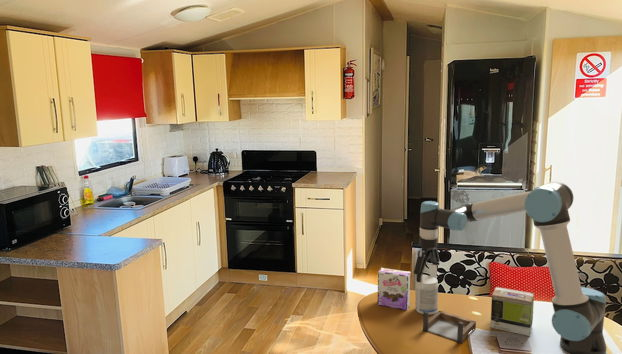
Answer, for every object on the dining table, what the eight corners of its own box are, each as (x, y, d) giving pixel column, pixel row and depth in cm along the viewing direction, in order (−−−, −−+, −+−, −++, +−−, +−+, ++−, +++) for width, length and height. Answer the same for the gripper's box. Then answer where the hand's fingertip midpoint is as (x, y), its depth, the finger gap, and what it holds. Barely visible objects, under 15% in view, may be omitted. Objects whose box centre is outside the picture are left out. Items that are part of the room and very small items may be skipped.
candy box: (377, 305, 216) (377, 271, 213) (380, 300, 221) (380, 267, 218) (407, 310, 211) (408, 275, 208) (409, 305, 216) (410, 271, 213)
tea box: (532, 326, 195) (535, 292, 193) (529, 337, 187) (532, 302, 184) (494, 318, 203) (495, 285, 200) (489, 328, 194) (491, 294, 192)
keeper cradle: (476, 328, 194) (477, 310, 193) (461, 344, 182) (462, 324, 181) (438, 316, 204) (439, 299, 203) (421, 330, 193) (422, 312, 191)
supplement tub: (441, 312, 209) (443, 280, 206) (426, 317, 204) (427, 285, 201) (425, 304, 217) (426, 273, 214) (410, 309, 212) (411, 278, 209)
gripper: (433, 228, 216) (431, 272, 220) (406, 242, 197) (404, 290, 201) (448, 231, 211) (446, 276, 215) (423, 246, 192) (421, 295, 196)
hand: (426, 283), depth 208 cm, fingers open, 13 cm apart
